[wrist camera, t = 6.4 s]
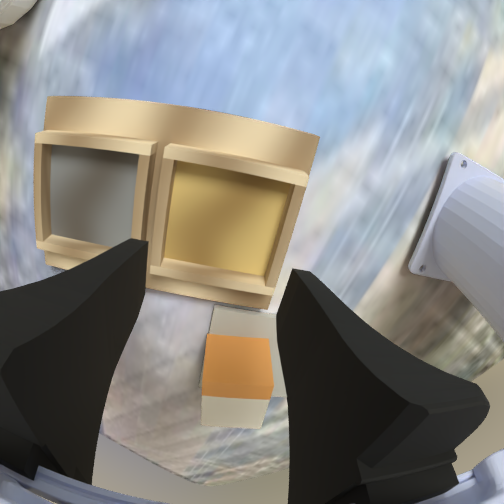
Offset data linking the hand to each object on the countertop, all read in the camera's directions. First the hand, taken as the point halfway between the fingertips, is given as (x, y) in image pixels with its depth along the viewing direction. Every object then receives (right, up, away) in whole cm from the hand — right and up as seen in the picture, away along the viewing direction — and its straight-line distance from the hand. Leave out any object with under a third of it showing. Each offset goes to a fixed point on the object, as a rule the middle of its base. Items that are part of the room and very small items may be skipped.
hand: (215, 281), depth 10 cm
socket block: (-4, +4, +6) cm, 8 cm away
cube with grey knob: (0, -5, +8) cm, 9 cm away
